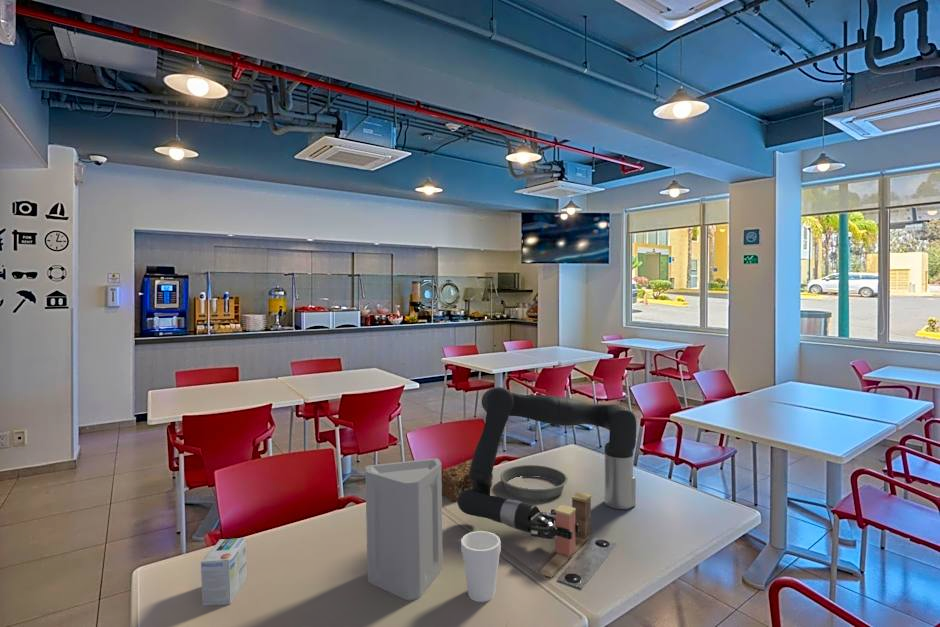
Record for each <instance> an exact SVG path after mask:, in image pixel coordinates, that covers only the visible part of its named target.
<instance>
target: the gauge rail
mask: <svg viewBox="0 0 940 627" xmlns="http://www.w3.org/2000/svg"><path fill="white" fill-rule="evenodd" d="M591 498H592V494H589V493H585V492H584V493H583V492H579V491H577V492H575V493H574V494H573V495H572V496H571V500H572V502H571V504H572V505H571V507H573V508H576V511H575V523H578V524H579V531H578V532H575V551H574V552H573V553H572V554H571V555H570V556H567V555H564V554H561V553H558V552H556V554H555V555H554V556H553V557H552V558H551V559H550V560H549V561H548V562H547V563H546V564H545V565H544V566H543V567H542V568H541V569H540V575H541V574H543V575H542V576H544V575H546V576H549V577H551V578H550V579H553V577H554V576H555V575H556V574H557V573H558V572H559V571H560V570H561V569H562V568H561V566H562V565H563V566H564V565H566V563H567V562H568V561H569V560H570V559H571V558H572V557H573V556H574V555H575V553H576V552H577V551H578V550H579V549H580V548H581V547H582V546H583V545H584V544H585V543H586V542H585V541H588V539H590V535H591V534H592V533H591V532H592V529H591V527H592V520H591V519H592V513H591V512H592V509H591V508H592V507H591V506H592V501H591V500H592V499H591ZM584 542H585V543H584ZM573 554H574V555H573ZM572 555H573V556H572ZM571 556H572V557H571ZM570 557H571V558H570ZM569 558H570V559H569ZM568 559H569V560H568ZM563 566H562V567H563ZM560 568H561V569H560ZM559 569H560V570H559ZM558 570H559V571H558ZM557 571H558V572H557ZM556 572H557V573H556ZM555 573H556V574H555ZM554 574H555V575H554ZM553 575H554V576H553ZM546 576H545V577H546ZM552 576H553V577H552ZM549 577H548V578H549Z"/></svg>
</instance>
